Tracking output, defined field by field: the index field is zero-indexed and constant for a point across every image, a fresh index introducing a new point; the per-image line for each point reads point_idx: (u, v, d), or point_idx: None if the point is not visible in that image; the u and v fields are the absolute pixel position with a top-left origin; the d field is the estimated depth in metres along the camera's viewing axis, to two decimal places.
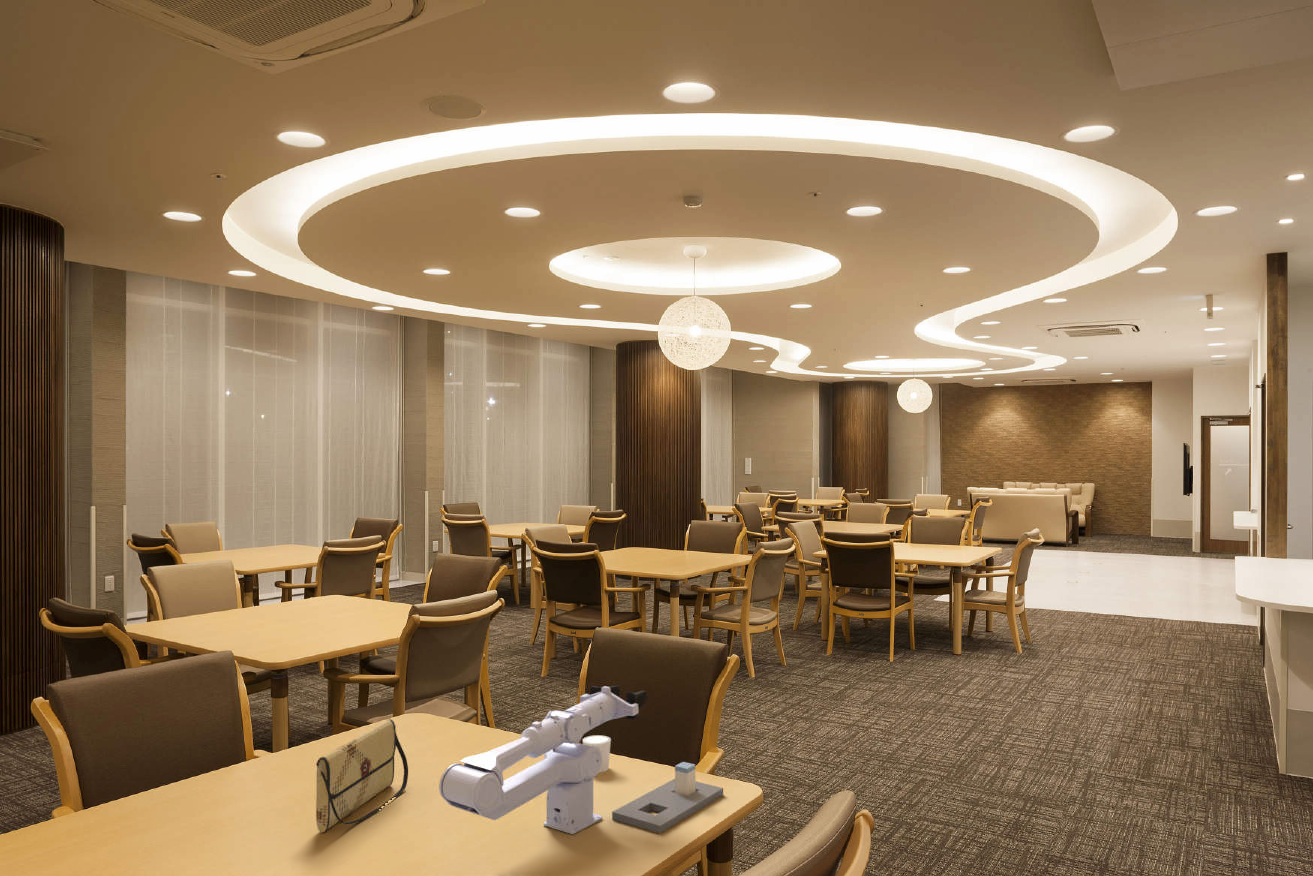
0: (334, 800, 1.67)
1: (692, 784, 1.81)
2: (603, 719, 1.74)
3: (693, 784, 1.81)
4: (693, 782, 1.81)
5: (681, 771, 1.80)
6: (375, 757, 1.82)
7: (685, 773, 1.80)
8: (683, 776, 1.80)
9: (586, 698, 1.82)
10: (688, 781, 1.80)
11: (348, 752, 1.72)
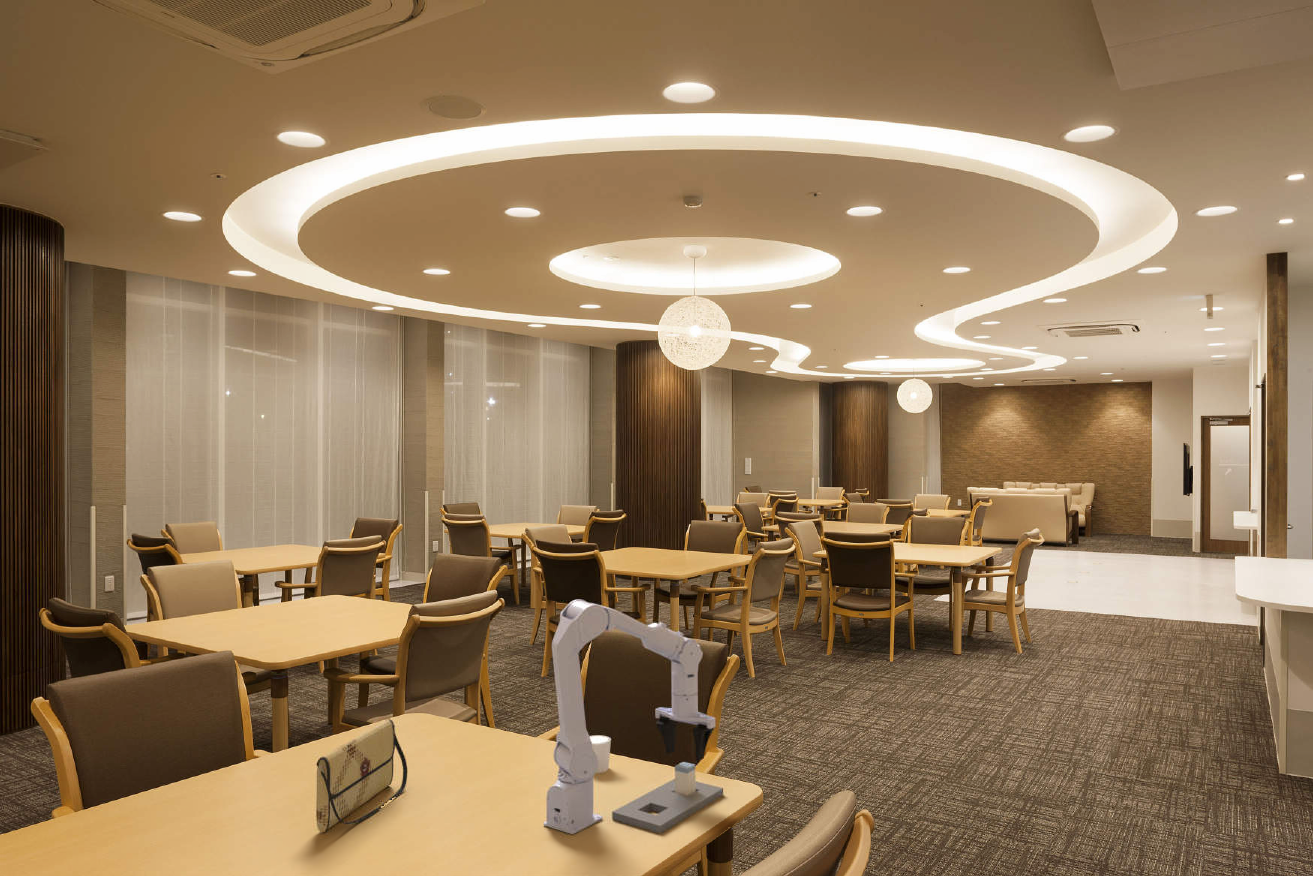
0: (334, 800, 1.67)
1: (692, 784, 1.81)
2: (691, 696, 1.80)
3: (693, 784, 1.81)
4: (693, 782, 1.81)
5: (681, 771, 1.80)
6: (374, 757, 1.82)
7: (685, 773, 1.80)
8: (683, 776, 1.80)
9: (664, 710, 1.86)
10: (688, 781, 1.80)
11: (348, 752, 1.72)
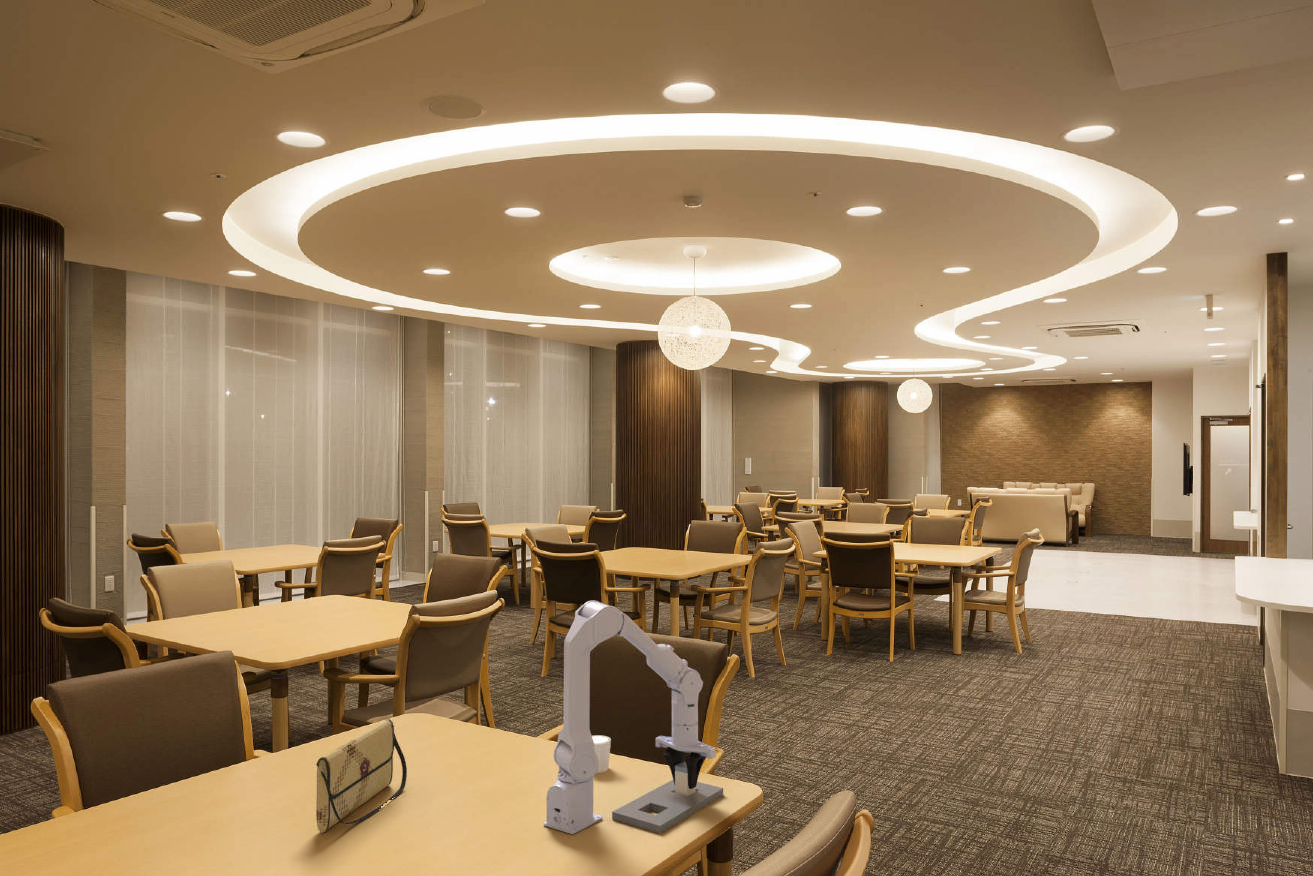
0: (334, 800, 1.67)
1: None
2: (692, 726, 1.80)
3: None
4: None
5: (681, 771, 1.80)
6: (374, 757, 1.82)
7: (685, 773, 1.80)
8: (683, 776, 1.80)
9: None
10: None
11: (348, 752, 1.72)
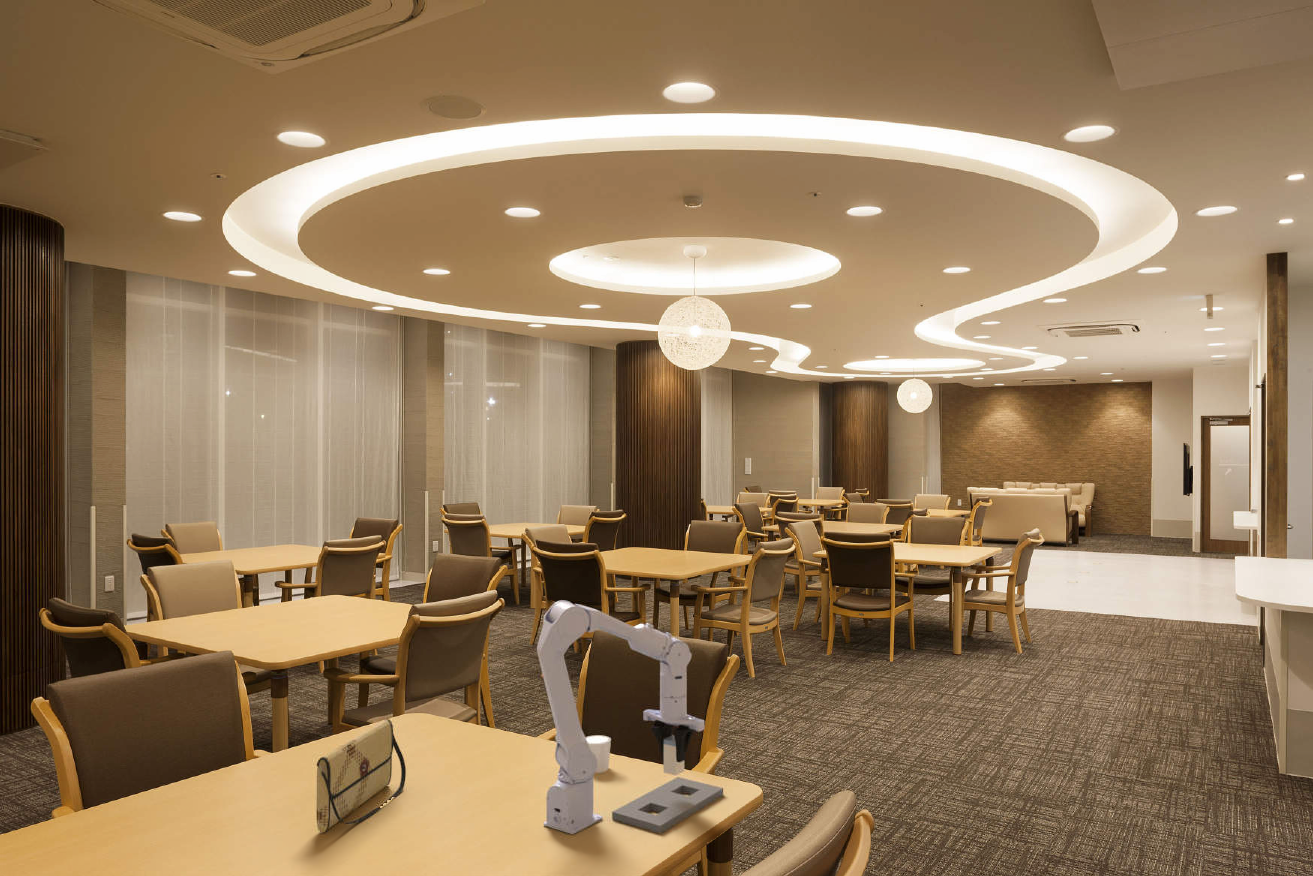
0: (334, 800, 1.67)
1: None
2: (680, 698, 1.77)
3: None
4: None
5: (670, 744, 1.77)
6: (373, 757, 1.82)
7: (674, 746, 1.77)
8: (672, 749, 1.77)
9: (652, 712, 1.83)
10: None
11: (348, 752, 1.72)
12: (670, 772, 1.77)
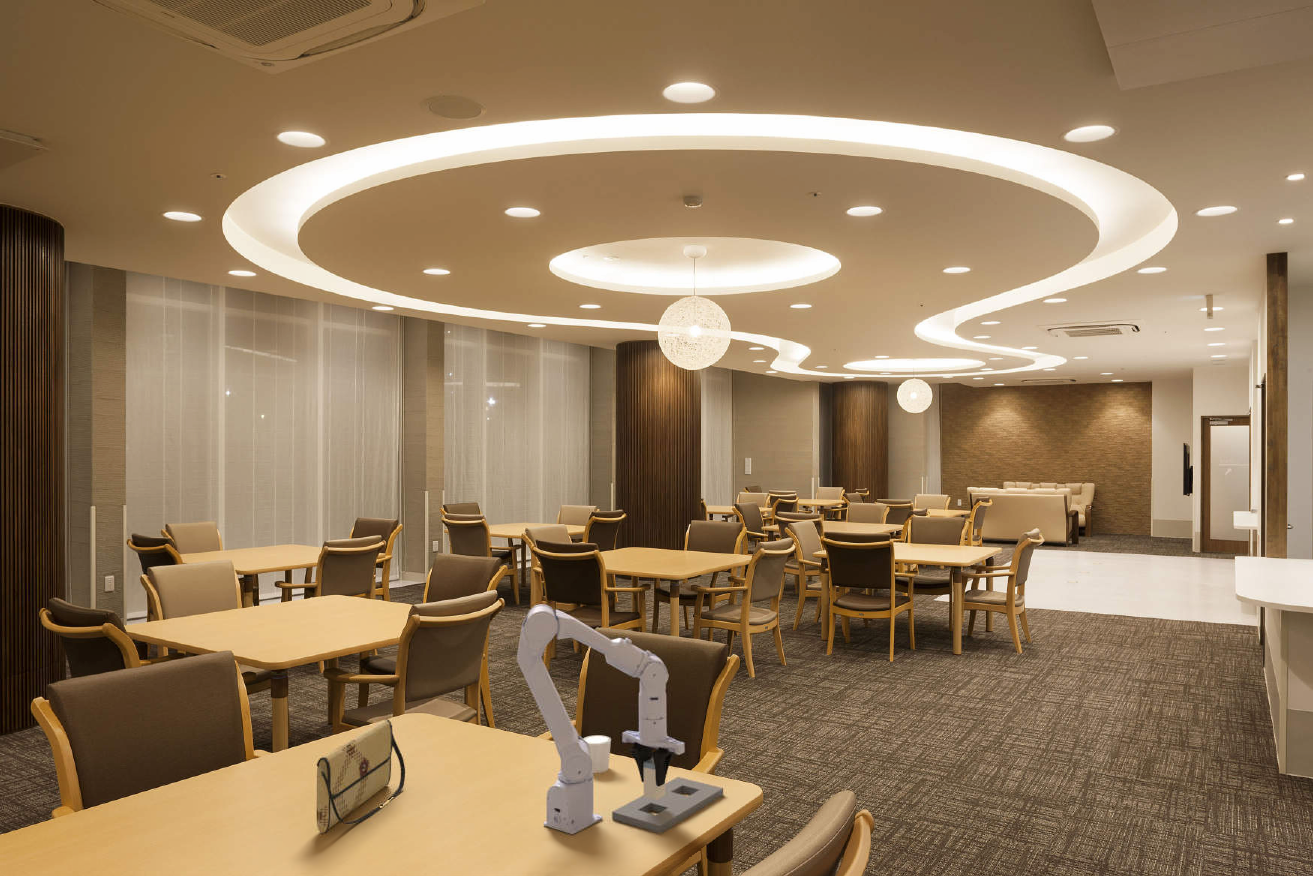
0: (334, 800, 1.67)
1: None
2: (659, 720, 1.70)
3: None
4: None
5: (650, 768, 1.71)
6: (373, 757, 1.82)
7: (654, 769, 1.71)
8: (652, 773, 1.71)
9: None
10: None
11: (347, 752, 1.72)
12: (650, 796, 1.71)
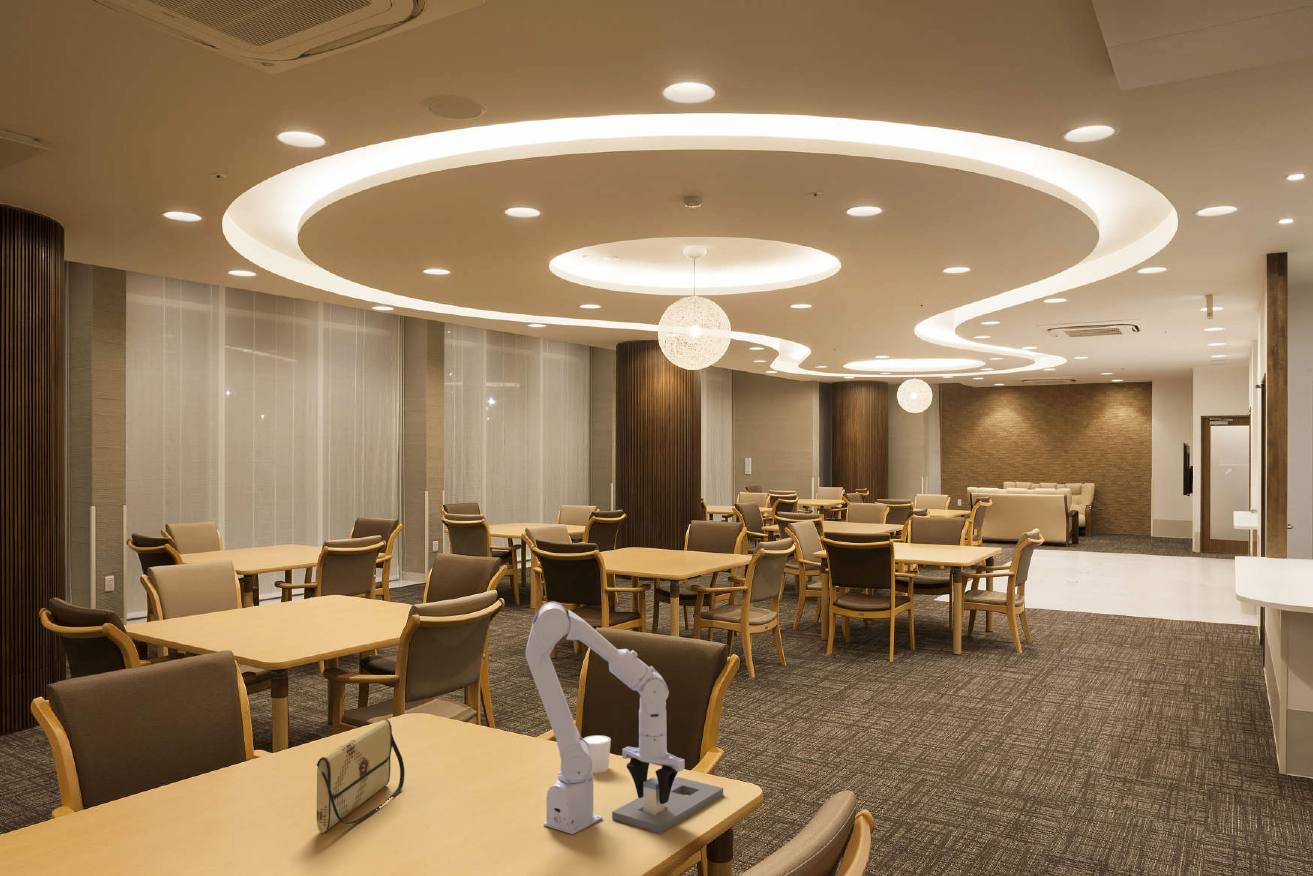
0: (334, 800, 1.67)
1: None
2: (659, 737, 1.70)
3: None
4: None
5: (650, 787, 1.71)
6: (372, 757, 1.82)
7: (654, 789, 1.71)
8: (652, 793, 1.71)
9: None
10: (657, 798, 1.71)
11: (347, 752, 1.72)
12: None
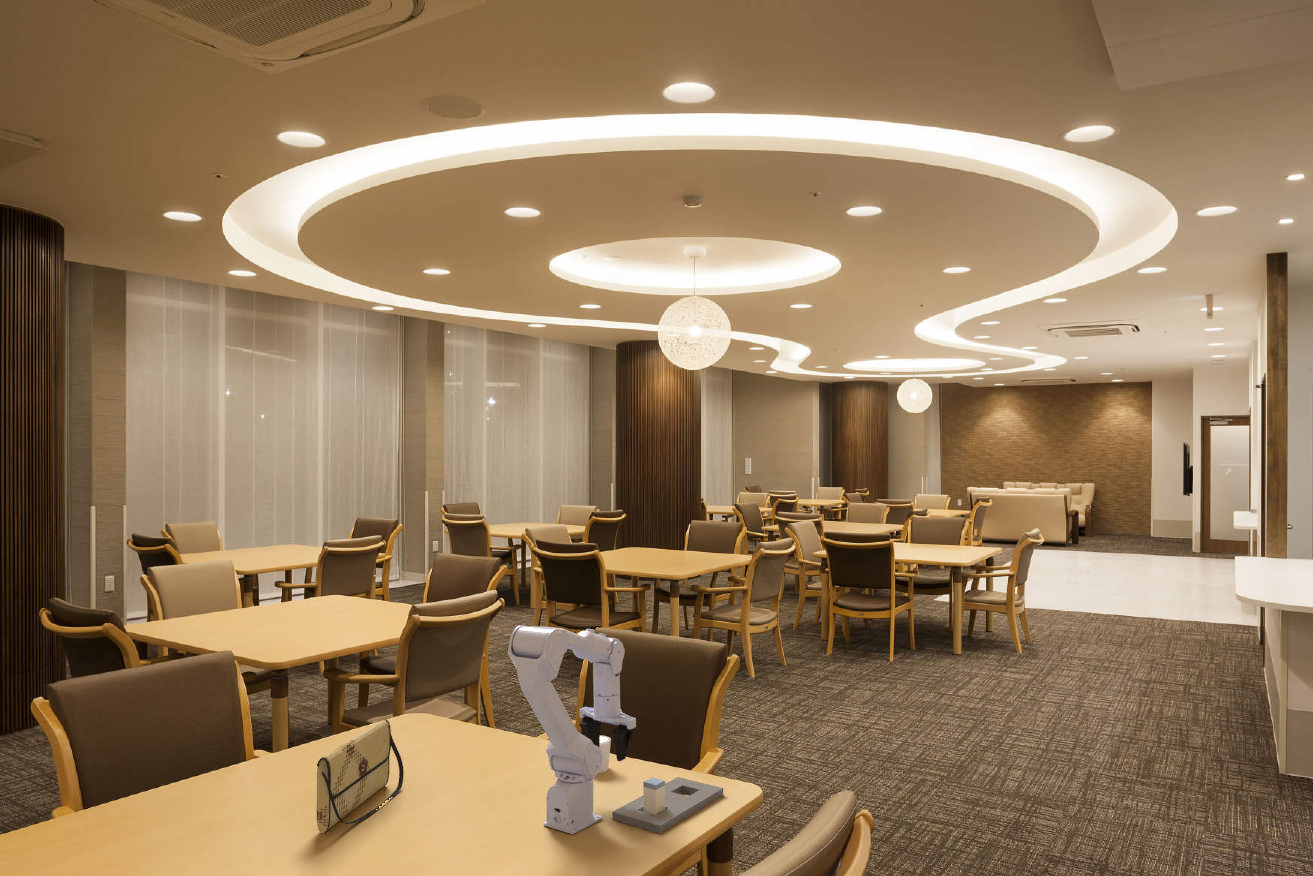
0: (334, 800, 1.67)
1: (661, 801, 1.72)
2: (612, 697, 1.79)
3: (662, 801, 1.72)
4: (662, 799, 1.72)
5: (650, 787, 1.71)
6: (372, 757, 1.82)
7: (654, 789, 1.71)
8: (652, 793, 1.71)
9: None
10: (657, 798, 1.70)
11: (347, 752, 1.72)
12: None
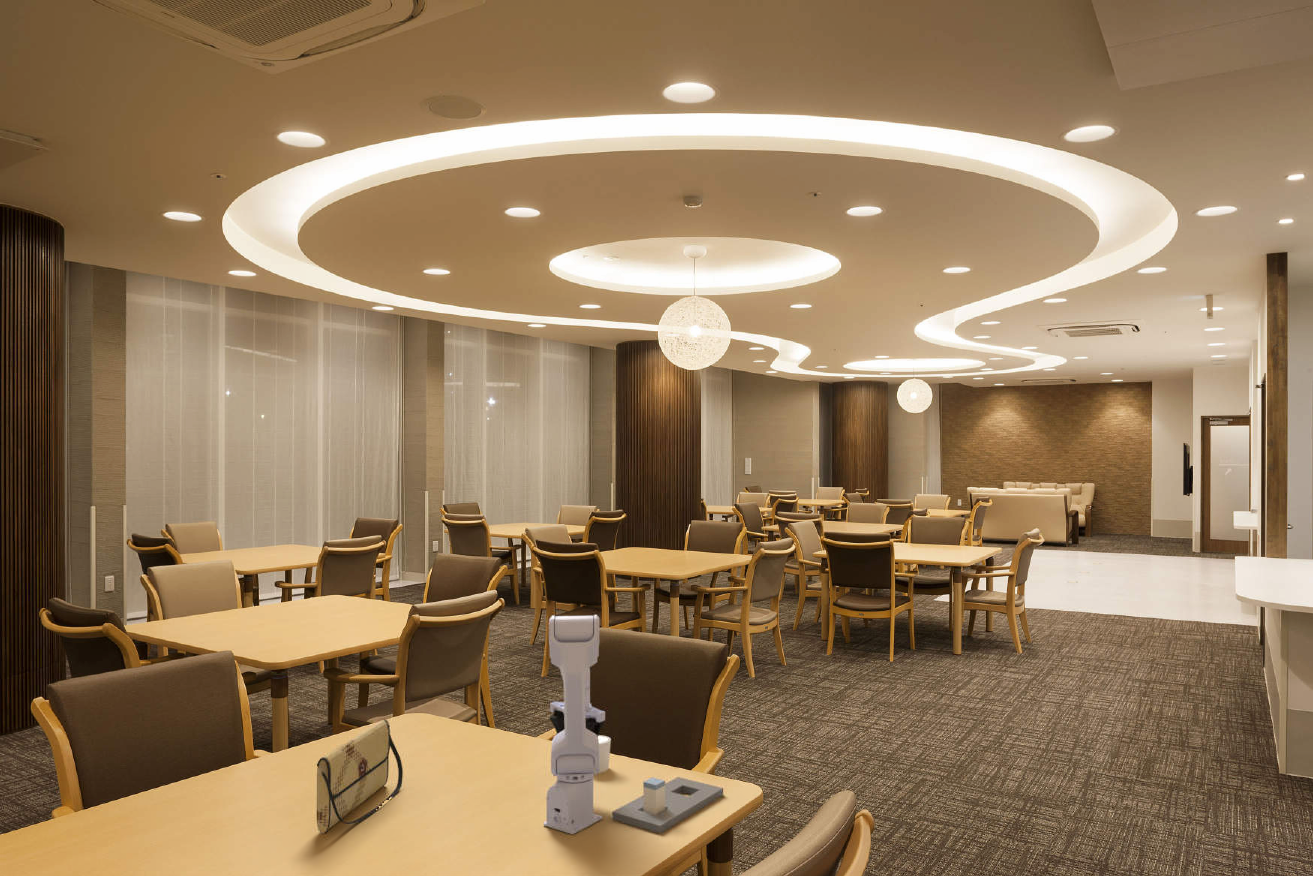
0: (334, 800, 1.67)
1: (661, 801, 1.72)
2: None
3: (662, 801, 1.72)
4: (662, 799, 1.72)
5: (650, 787, 1.71)
6: (371, 757, 1.82)
7: (654, 789, 1.71)
8: (652, 793, 1.71)
9: None
10: (657, 798, 1.70)
11: (347, 752, 1.72)
12: None
